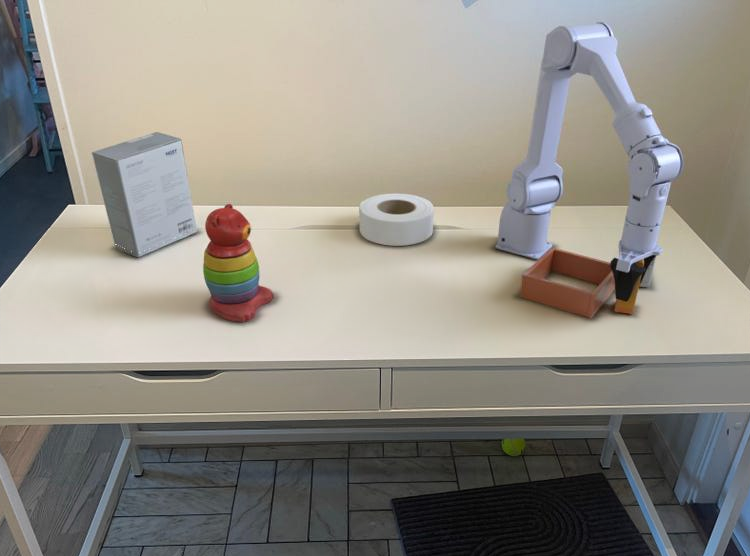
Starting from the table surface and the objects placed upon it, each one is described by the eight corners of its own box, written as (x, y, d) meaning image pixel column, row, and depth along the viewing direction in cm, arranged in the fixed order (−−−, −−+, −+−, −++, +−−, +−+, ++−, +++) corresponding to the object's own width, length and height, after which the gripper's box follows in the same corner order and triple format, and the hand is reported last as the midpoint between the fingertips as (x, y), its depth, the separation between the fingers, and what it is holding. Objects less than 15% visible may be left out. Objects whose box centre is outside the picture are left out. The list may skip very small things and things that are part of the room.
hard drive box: (174, 223, 155) (158, 130, 143) (198, 232, 151) (183, 138, 140) (113, 248, 144) (90, 150, 133) (137, 259, 140) (116, 159, 129)
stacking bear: (247, 324, 121) (234, 226, 111) (195, 313, 124) (179, 217, 114) (278, 295, 129) (269, 202, 119) (229, 285, 132) (216, 193, 122)
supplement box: (634, 306, 128) (645, 255, 122) (632, 315, 125) (644, 264, 119) (615, 302, 129) (625, 252, 123) (613, 312, 126) (624, 260, 120)
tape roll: (366, 213, 160) (365, 190, 157) (436, 218, 159) (437, 194, 155) (352, 243, 147) (351, 218, 144) (428, 249, 146) (429, 223, 143)
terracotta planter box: (519, 296, 130) (522, 274, 128) (549, 268, 140) (552, 247, 137) (591, 318, 124) (595, 295, 122) (616, 287, 134) (621, 265, 131)
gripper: (654, 241, 110) (637, 317, 118) (680, 211, 121) (662, 282, 128) (610, 230, 114) (596, 304, 121) (638, 201, 124) (623, 272, 131)
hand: (627, 292), depth 125 cm, fingers open, 5 cm apart
